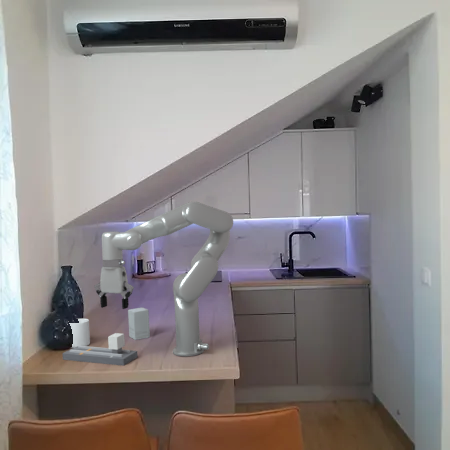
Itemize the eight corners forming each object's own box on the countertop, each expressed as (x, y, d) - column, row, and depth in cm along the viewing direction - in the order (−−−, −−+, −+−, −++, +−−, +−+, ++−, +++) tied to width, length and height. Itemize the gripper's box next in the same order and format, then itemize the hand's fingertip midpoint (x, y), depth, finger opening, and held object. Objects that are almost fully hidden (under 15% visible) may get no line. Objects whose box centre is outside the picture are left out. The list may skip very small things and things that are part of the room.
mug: (64, 343, 210) (62, 319, 210) (91, 341, 212) (90, 317, 211) (59, 349, 202) (57, 324, 201) (88, 347, 203) (86, 322, 202)
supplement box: (150, 337, 215) (149, 309, 214) (134, 340, 211) (133, 312, 210) (144, 333, 221) (142, 306, 221) (128, 336, 217) (127, 309, 217)
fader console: (137, 357, 188) (137, 348, 188) (123, 365, 178) (123, 357, 178) (78, 351, 198) (78, 343, 198) (62, 359, 188) (62, 351, 188)
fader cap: (125, 351, 187) (124, 333, 186) (117, 355, 182) (116, 337, 182) (116, 350, 188) (115, 333, 188) (109, 354, 183) (108, 336, 183)
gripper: (137, 262, 184) (139, 306, 185) (99, 262, 190) (101, 304, 191) (126, 265, 177) (128, 311, 178) (88, 264, 183) (90, 308, 184)
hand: (114, 307), depth 184 cm, fingers open, 9 cm apart
